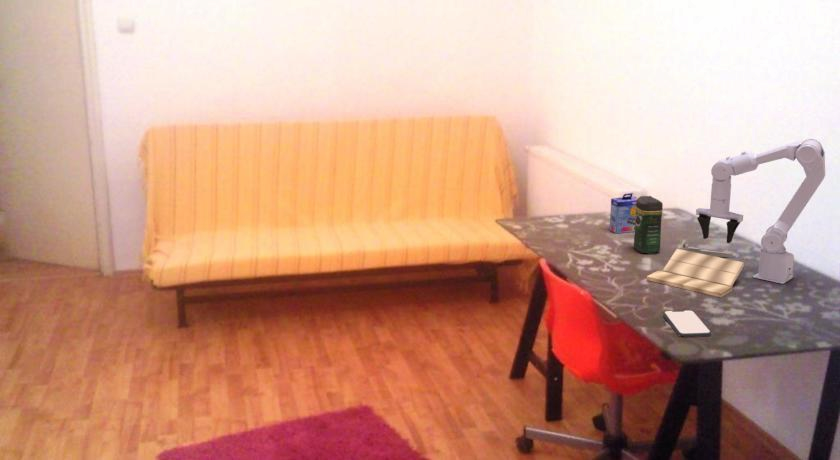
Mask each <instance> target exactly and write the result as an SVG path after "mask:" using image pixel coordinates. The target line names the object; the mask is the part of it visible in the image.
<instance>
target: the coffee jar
mask: <svg viewBox="0 0 840 460" xmlns="http://www.w3.org/2000/svg"><path fill="white" fill-rule="evenodd" d="M637 198H638V199H637V201H636V224H635V232H634V237H633V238H634V239H633V248H634V249H635V250H636V251H638V252H639V253H643V254H648V255H649V254H650V255H651V254H652V255H653V254H656V253H660V251H661V238H662V237H661V236H662V232H661V231H662V217H663V209H664V208H663V207H664V205H663V202H662V201H661V200H659V199H657V198H656V197H653V196H652V195H641V196H639V197H637Z"/></svg>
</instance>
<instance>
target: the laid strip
mask: <svg viewBox="0 0 840 460" xmlns="http://www.w3.org/2000/svg"><path fill="white" fill-rule="evenodd" d="M646 281H649V282H654V283H659V284H662V285H665V286H666V285H667V286H671V287H676V288H679V289H683V290H687V291H691V292H696V293H700V294H705V295H709V296H712V297H717V298H722V297H724V296H726V295H727V294H729V293H731V292H732V291H733V290H734V289H733V288H734V285H732V286H730V285H725V284H721V283H716V282H712V281H707V280H703V279H699V278H694V277H690V276H685V275H681V274H676V273H672V272H667V271H663V270H662V269H658V270H657V271H655V272H652V273H650V274H648V275H647V276H646Z"/></svg>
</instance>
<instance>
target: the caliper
mask: <svg viewBox="0 0 840 460" xmlns="http://www.w3.org/2000/svg"><path fill="white" fill-rule="evenodd" d="M679 249H681V250H685V251H690V252H695V253H700V254H705V255H710V256H715V257H719V258H726V259H729V258H733V257H734V258H735V257H736V254H733V253H731V252H723V251H715V250H707V249H706V250H705V249H701V248H699V247H698V248H697V247H690V246H689V244H688V243H686V244H685V243H683V244H682V246H680V248H679ZM736 258H737V257H736Z"/></svg>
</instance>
